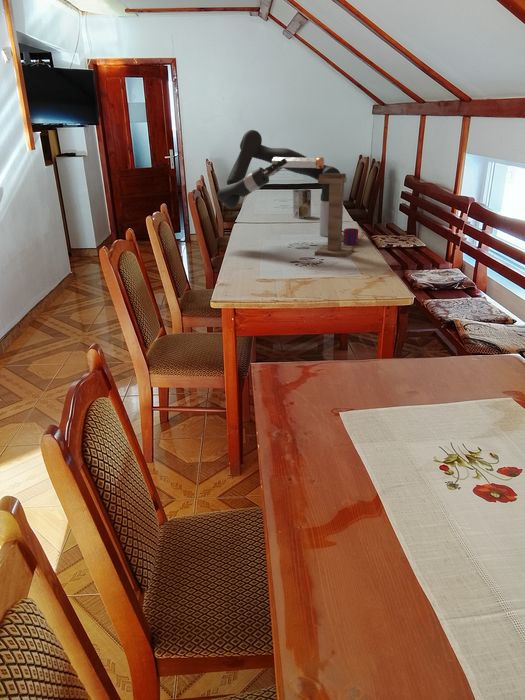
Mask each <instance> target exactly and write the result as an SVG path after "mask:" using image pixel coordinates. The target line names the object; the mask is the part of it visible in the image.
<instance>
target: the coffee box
mask: <svg viewBox="0 0 525 700" xmlns="http://www.w3.org/2000/svg"><path fill="white" fill-rule="evenodd" d="M292 193H293V195H292V198H293V199H292V202H293V203H292V204H293V205H292V207H293V209H292V211H293V213H292V215H293V218H295V217H296V218H295V219H304V217H306V218H311V217H312V213H311V212H312V208H311V207H312V190H311V189H309V188H301V189H294V190H292ZM310 216H311V217H310Z"/></svg>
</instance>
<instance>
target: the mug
mask: <svg viewBox="0 0 525 700" xmlns="http://www.w3.org/2000/svg"><path fill="white" fill-rule="evenodd" d="M342 234H343V239H342V243H343V245H344V244H345V245H344V246H357V245H358V243H359V229H358V228H353V227H351V228H349V227H348V228H344V230H342Z"/></svg>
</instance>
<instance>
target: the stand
mask: <svg viewBox="0 0 525 700" xmlns="http://www.w3.org/2000/svg"><path fill="white" fill-rule="evenodd" d="M345 183H347V174H346V173H340V174H339V173H322V174H319V178H318V180H317V184H321V185H322V184H329V216H328V236H327V245H325V244H324V245H322V246H321V247H319V248H318V249H316V250H314V256H318V255H321V257H335V258H345V257H346V258H347V257H348V256H350V254H351V253H352V252H353V251H354V246H342V243H343V242H342V241H343V239H342V238H343V232H342V231H343V217H344V216H343V215H344V214H343V213H344V190H345V189H344V188H345V185H344V184H345Z"/></svg>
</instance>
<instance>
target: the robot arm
mask: <svg viewBox="0 0 525 700" xmlns="http://www.w3.org/2000/svg"><path fill="white" fill-rule="evenodd" d="M262 139H263V138H262V135H261V134H260V133H259V131H258V130H255V129H250V130H247V131H246V132H245V133H244V134H243V137H242V138H241V141H240V143H239V148H240V152H239V154H238V156H237V159H235V162H234V165H233V166H232V169H230V170H231V171H230V172H229V176H228V177H227V180H226V185H224V186H222V187H220V188H219V190H218V191H217V193H216V196H217V199H218V200H219V201H220V202H221V203H222V204H224V206H225V207H226V208H228V209H231V210H232V209H235V208H236V207H237V206H238V204H239V202H240V201H241V200H240V199H241V198H244V197H246V196H248V195H250V194H251V193H253V192H255V191H257V190H259V189H261V188H262V187H264V186H265V185H266V184H269V183H270V177H273V176H274V175H275V174H277V173H279V172H280V171H281V170H283V169H284V170H287V171H290V172H291V173H295V174H299V175H303V176H306V177H307V176H308V177H310V178H312V179H315V180H317V181H318V178H319V174H322V173H339V174H341V172H340V170H339V169H338V168H336V167H334V166H330V165H326V164H324V167H323V168H293V167H282V166H283V165H285V164H286V163H287V161H286V159H283V160H281V161H279V162H278V163H275V164H272V159H273V157H296V158H308V156H306V155H304V154H302V153H300V152H297V151H295V150H293V149H290V148H286V147H284V148H283V147H282V148H280V147H279V148H277V147H275V148H274V147H268V146H266V145H263V144H262V142H263V140H262ZM253 158H254V159H257V160H262V161H265V162H267V163H270V164H271V165H268V166H266V167H264V168H263V167H261V166H260V167H258V168H256V169H255V170H253V171H252V172H250V173H249V174H247V173H248V169H249V167H250V164H251V161H252V159H253ZM328 216H329V184H321V194H320V211H319V236H321V237H328Z"/></svg>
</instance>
